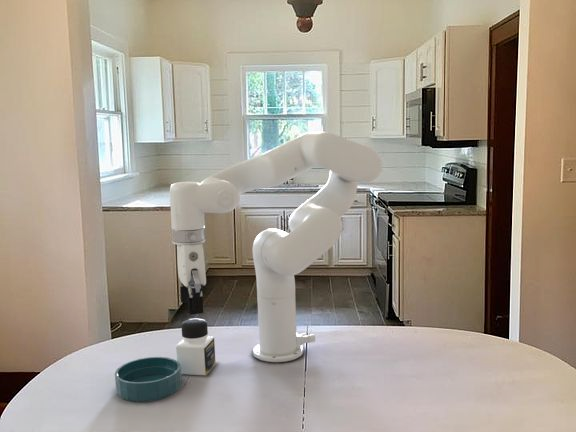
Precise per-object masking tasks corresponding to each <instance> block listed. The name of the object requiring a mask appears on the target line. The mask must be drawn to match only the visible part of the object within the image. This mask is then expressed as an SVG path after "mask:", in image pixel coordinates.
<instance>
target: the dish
mask: <svg viewBox="0 0 576 432" xmlns="http://www.w3.org/2000/svg"><path fill="white" fill-rule="evenodd" d="M182 376H183V374H181V365H180V363H179V362H178V361H177V359H175V358H171V357H165V356H149V357H142V358H137V359H134V360H130V361H128V362H126V363H124V364H122V365H120V366H119V367H118V368H117V369H116V370H115V372H114V383H115V392H116V395H117V396H119V397H120V398H121V399H124V400H126V401H129V402H135V403H146V402H154V401H159V400H162V399H164V398H167V397H169V396H171V395H173V394H174V393H176V392H177V391H178V390H179V389H180V388H182V383H183V377H182Z"/></svg>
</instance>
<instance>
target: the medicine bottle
mask: <svg viewBox="0 0 576 432" xmlns="http://www.w3.org/2000/svg"><path fill="white" fill-rule="evenodd" d="M180 325H181V326H180V327H181V339H182V340H180V341H179V342H178V343H177V344H176V345H175V351H176V361H178V362H179V363H180V365H181V374H182V375H188V376H189V375H190V376H207V375H208V374H209V373H210V371H211V370H212V369H213V368H214V366H215V365H216V362H217V361H216V347H215V336H213V335H209V332H208V331H209V330H208V321H206V319H203V318H200V317H199V318H198V317H197V318H196V317H195V318H189V319H187V320H185V321H183V322H182V323H181V324H180Z"/></svg>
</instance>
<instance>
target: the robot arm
mask: <svg viewBox="0 0 576 432" xmlns="http://www.w3.org/2000/svg"><path fill="white" fill-rule="evenodd" d="M382 161H383V160H382V157H381V156H380V154H379V153H378V152H377V151H376V150H375V149H373V148H371V147H369V146H367V145H363V144H361V143H358V142H355V141H353V140H351V139H347V138H345V137H342V136H340V135H338V134H335V133H332V132H327V131H309V132H305V133H303V134H300V135H298V136H296V137H293V138H292V139H290V140H288V141H286V142H284V143H282V144H280V145H278V146H275V147H273V148H272V149H269V150H267V151H265V152H263V153H261V154H259V155H256V156H253V157H250V158H248V159H246V160H244V161H243V160H242V161H240V162H238V163H236V164H233V165H230V166H228V167H226V168H224V169H222V170H219V171H217V172H215V173H214V174H211V175H209V176H208V177H206V178H204V179H203V180H202V181H201V182H197V181H179V182H174V183H173V184H171V185H170V187H169V202H170V203H169V205H170V222H171V223H170V225H171V243H172V244H173V245H176V262H177V275H178V276H177V277H178V279H179V285H180V286H179V293H180V303H182V304H186V303H188V314H189V315H190V316H192V315H199V314H203V313H204V296H203V289H202V287H204V286H206V284H207V274H206V262H205V254H204V246H203V244H204V243H205V242H206V226H205V225H206V224H205V213H210V214H227V213H230V212H232V211H233V210H235V209H236V208H237V206H238V205H239V203H240V199H241V198H240V196H241V195H243V194H245V193H247V192H251V191H255V190H261V189H271V188H274V187H277V186H280V185H283V184H285V183H286V182H288V181H290V180H292V179H295V178H296V177H298V176H300V175H302V174H304V173H306V172H308V171H309V170H312V169H314V168H319V169H320V168H321V169H325V170H327V171H329V176H328V179H327V182H326V183H325V185H324V186H323V187H322V188H321V189H320V190H318V191H317V192H316V193H315V194H314V195H313V196H311V197H310V198H309V199H307V200H306V201H305V202H304V203H302V204H301V205H300V206H299V207H297V208H296V209H295V210H294V211H293V212H292V213H291V215H290V216H289V218H288V229H289V230H290V231H289V232H286V231H283V230H281V229H279V228H267V229H265V230H262V231H261V232H259V234H257V236H256V237H255V238H254V241H253V244H252V260H253V265H254V271H255V278H256V297H257V322H258V323H257V325H258V344H257V345H255V346H254V347H253V349H252V350H253V353H252V354H253V356H254V358H256V359H257V360H260V361H263V362H267V363H286V362H291V361H294V360H296V359H298V358H300V357H301V356H302V355H303V354H304V344H309V343H316V336H315V334H313V333H312V334H307V333H306V332H302V333H298V332H297V331H298V330H297V303H296V299H297V298H296V279H295V275H298V274H300V273H301V272H304V270H306V269H307V268H308V267H310V266H311V265H312V264H313V263H314V262H316V261H317V260H319V258H321V257H322V256H323V255H325V254H326V253H327V252H328V251H329V250H330V249H332V247H334V246H335V245H336V243H337V242H338V241H339V240H340V237H341V234H342V231H343V222H342V221H343V220H342V217H343V215H345V214H346V212H348V211H349V210H350V209H351V208H352V206H353V205H354V203H355V200H356V196H357V190H358V183H363V184H364V183H365V184H366V183H370V182H371V183H372V181H373V182H374V181H375V180H376V179H377V178H378V177H379V176H380V174H381V172H382V168H383V162H382Z"/></svg>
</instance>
